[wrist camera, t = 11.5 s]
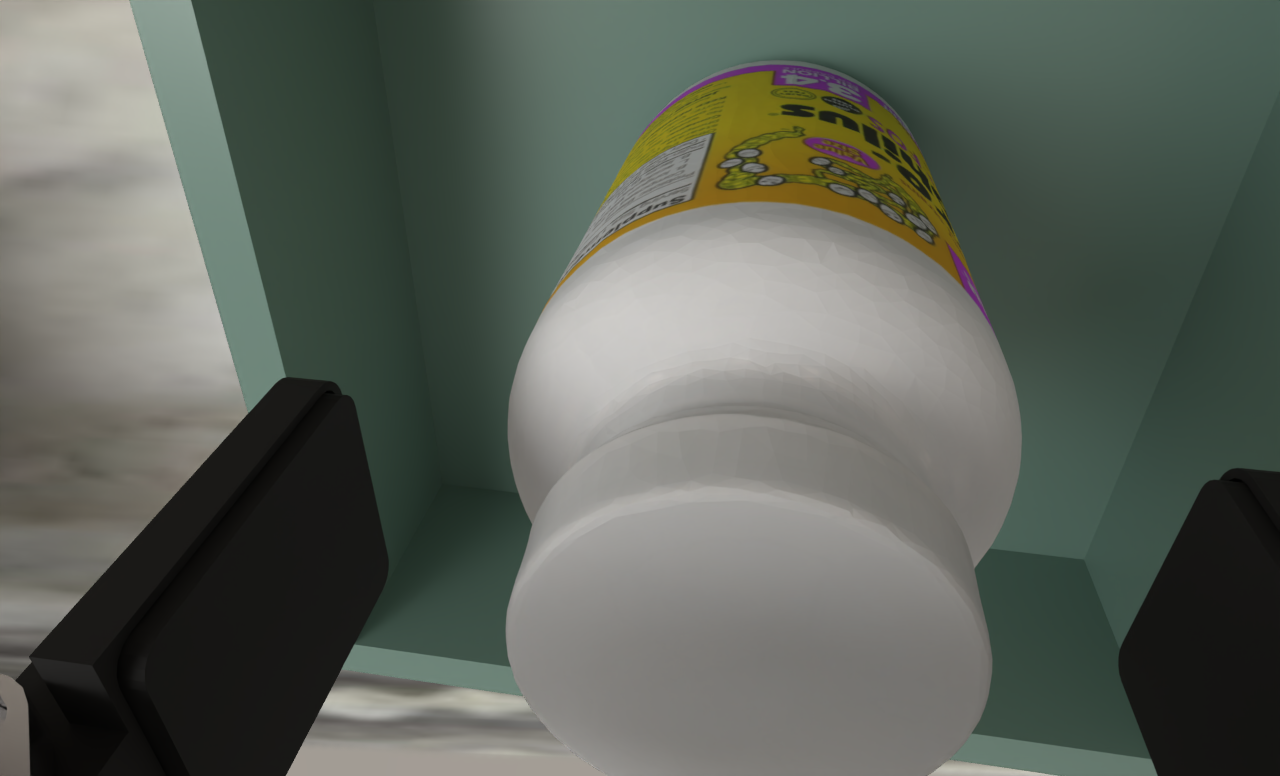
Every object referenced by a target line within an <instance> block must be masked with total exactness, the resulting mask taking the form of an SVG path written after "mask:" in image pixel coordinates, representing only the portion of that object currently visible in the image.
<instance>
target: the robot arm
mask: <svg viewBox="0 0 1280 776" xmlns="http://www.w3.org/2000/svg"><path fill="white" fill-rule="evenodd" d="M388 570H389V559H388V553H387V548H386V544H385V539H384V535H383V530H382V525H381V521H380V516H379V512H378V507H377V502H376V498H375V493H374V489H373V484H372V479H371V475H370V470H369V466H368V461H367V456H366V452H365V447H364V443H363V438H362V433H361V429H360V424H359V420H358V415H357V410H356V406H355V403H354V400H353V399H352V398H351V396H348V395H342V392H341V389H340V388H339V386H338V385H337V384H336V383H334V382H332V381H325V380H315V379H305V378H294V377H285V378H282V379H280V380H279V381H278V382H276V383H275V384H274V386H273V387H272V388H271V389H270V390H269V391H268V392H267V393H266V394H265V396H264V397H263V398H262V399H261V400H260V401H259V402H258V403H257V404H256V406H255V407H254V408H253V409H252V410H251V411H250V412H249V413H248V414H247V415H246V417H245V418H244V419H243V420H242V421H241V422H240V423H239V424H238V425H237V427H236V428H235V429H234V430H233V431H232V432H231V433H230V434H229V435H228V437H227V438H226V439H225V440H224V441H223V442H222V443H221V444H220V445H219V447H218V448H217V449H216V450H215V451H214V452H213V453H212V454H211V455H210V457H209V458H208V459H207V460H206V461H205V462H204V463H203V464H202V465H201V466H200V468H199V469H198V470H197V471H196V472H195V473H194V474H193V475H192V476H191V478H190V479H189V480H188V481H187V482H186V483H185V484H184V485H183V486H182V488H181V489H180V490H179V491H178V492H177V493H176V494H175V495H174V496H173V498H172V499H171V500H170V501H169V502H168V503H167V504H166V505H165V506H164V507H163V509H162V510H161V511H160V512H159V513H158V514H157V515H156V516H155V517H154V519H153V520H152V521H151V522H150V523H149V524H148V525H147V526H146V527H145V529H144V530H143V531H142V532H141V533H140V534H139V535H138V536H137V537H136V539H135V540H134V541H133V542H132V543H131V544H130V545H129V546H128V547H127V548H126V550H125V551H124V552H123V553H122V554H121V555H120V556H119V557H118V558H117V560H116V561H115V562H114V563H113V564H112V565H111V566H110V567H109V568H108V570H107V571H106V572H105V573H104V574H103V575H102V576H101V577H100V578H99V580H98V581H97V582H96V583H95V584H94V585H93V586H92V587H91V588H90V590H89V591H88V592H87V593H86V594H85V595H84V596H83V597H82V598H81V599H80V601H79V602H78V603H77V604H76V605H75V606H74V607H73V608H72V609H71V611H70V612H69V613H68V614H67V615H66V616H65V617H64V618H63V619H62V621H61V622H60V623H59V624H58V625H57V626H56V627H55V628H54V629H53V631H52V632H51V633H50V634H49V635H48V636H47V637H46V638H45V639H44V640H43V642H42V643H41V644H40V645H39V646H38V647H37V648H36V649H35V650H34V652H33V653H32V654H31V655H30V656H29V658H30V659H31V661H32V663H31V664H30V665H29V666H28V667H27V668H26V669H25V670H24V672H23V673H22V674H21V675H20V676H19V677H18V678H17V679H16V681H14V680H13V679H12V678H11V677H10V676H7V675H2V674H0V776H286V774H287V772H288V770H289V768H290V767H291V765H292V763H293V761H294V759H295V757H296V755H297V753H298V751H299V749H300V747H301V746H302V744H303V742H304V740H305V738H306V736H307V734H308V732H309V730H310V728H311V726H312V724H313V723H314V721H315V719H316V717H317V715H318V713H319V711H320V709H321V707H322V705H323V703H324V702H325V700H326V698H327V696H328V694H329V692H330V690H331V688H332V686H333V684H334V682H335V681H336V679H337V677H338V675H339V673H340V671H341V669H342V667H343V665H344V663H345V661H346V660H347V658H348V656H349V654H350V652H351V650H352V648H353V646H354V644H355V642H356V640H357V638H358V637H359V635H360V633H361V631H362V629H363V627H364V625H365V623H366V621H367V619H368V617H369V616H370V614H371V612H372V610H373V608H374V606H375V604H376V602H377V600H378V598H379V596H380V595H381V593H382V591H383V588H384V586H385V584H386V580H387V576H388ZM1118 667H1119V675H1120V678H1121V682H1122V684H1123V687H1124V690H1125V692H1126V695H1127V697H1128V700H1129V703H1130V705H1131V708H1132V710H1133V713H1134V716H1135V718H1136V721H1137V723H1138V726H1139V729H1140V731H1141V734H1142V736H1143V739H1144V742H1145V744H1146V747H1147V749H1148V752H1149V755H1150V757H1151V760H1152V762H1153V765H1154V768H1155V770H1156V773H1157V775H1158V776H1280V472H1276V471H1266V470H1255V469H1245V468H1234V469H1230V470H1228V471H1227V472H1225V473H1224V474H1223V475H1222V476H1221V478H1220V479H1219V480H1209V481H1208V482H1207V483H1205V484H1204V486H1203V487H1202V488H1201V490H1200V492H1199V494H1198V496H1197V498H1196V500H1195V502H1194V504H1193V506H1192V507H1191V509H1190V511H1189V513H1188V515H1187V517H1186V519H1185V521H1184V523H1183V525H1182V527H1181V529H1180V531H1179V533H1178V535H1177V537H1176V539H1175V541H1174V543H1173V545H1172V547H1171V549H1170V551H1169V553H1168V554H1167V556H1166V558H1165V560H1164V562H1163V564H1162V566H1161V568H1160V570H1159V572H1158V574H1157V576H1156V578H1155V580H1154V582H1153V584H1152V586H1151V588H1150V590H1149V592H1148V594H1147V596H1146V598H1145V599H1144V601H1143V603H1142V605H1141V607H1140V609H1139V611H1138V613H1137V615H1136V617H1135V619H1134V621H1133V623H1132V625H1131V627H1130V629H1129V631H1128V633H1127V635H1126V637H1125V639H1124V641H1123V643H1122V645H1121V648H1120V651H1119V657H1118Z"/></svg>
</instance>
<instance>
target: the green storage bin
mask: <svg viewBox="0 0 1280 776" xmlns="http://www.w3.org/2000/svg"><path fill="white" fill-rule="evenodd" d="M129 1H130V4H131V8H132V11H133V15H134V18H135V22H136V25H137V29H138V32H139V36H140V39H141V42H142V46H143V49H144V53H145V56H146V60H147V63H148V67H149V70H150V74H151V77H152V81H153V84H154V88H155V91H156V95H157V98H158V101H159V105H160V108H161V112H162V115H163V119H164V122H165V126H166V129H167V133H168V136H169V140H170V143H171V147H172V150H173V154H174V157H175V160H176V164H177V167H178V171H179V174H180V178H181V181H182V185H183V188H184V192H185V195H186V199H187V202H188V206H189V209H190V212H191V216H192V219H193V223H194V226H195V230H196V233H197V237H198V240H199V244H200V247H201V251H202V254H203V258H204V261H205V265H206V268H207V271H208V275H209V278H210V282H211V285H212V289H213V292H214V296H215V299H216V303H217V306H218V310H219V313H220V317H221V320H222V324H223V327H224V330H225V334H226V337H227V341H228V344H229V348H230V351H231V355H232V358H233V362H234V365H235V369H236V372H237V376H238V379H239V382H240V386H241V389H242V393H243V396H244V400H245V403H246V407H247V410H248V413H249V412H250V411H251V410H252V409H253V408H254V407H255V406H256V404H257V403H258V402H259V401H260V400H261V399H262V398H263V397H264V396H265V394H266V393H267V392H268V391H269V390H270V389H271V388H272V387H273V386H274V384H275V383H276V382H278V381H279V380H280V379H282V378H285V377H294V378H305V379H315V380H325V381H332V382H334V383H336V384H337V385H338V386H339V388H340V389H341V392H342V395H348V396H351V398H352V399H353V400H354V403H355V406H356V410H357V415H358V420H359V424H360V429H361V433H362V438H363V443H364V447H365V452H366V456H367V461H368V466H369V470H370V475H371V479H372V484H373V489H374V493H375V498H376V502H377V507H378V512H379V516H380V521H381V525H382V530H383V535H384V539H385V544H386V548H387V553H388V559H389V570H388V576H387V580H386V584H385V586H384V588H383V591H382V593H381V595H380V596H379V598H378V600H377V602H376V604H375V606H374V608H373V610H372V612H371V614H370V616H369V617H368V619H367V621H366V623H365V625H364V627H363V629H362V631H361V633H360V635H359V637H358V638H357V640H356V642H355V644H354V646H353V648H352V650H351V652H350V654H349V656H348V658H347V660H346V661H345V663H344V665H343V667H342V669H343V670H350V671H357V672H363V673H370V674H377V675H384V676H390V677H397V678H404V679H411V680H417V681H424V682H431V683H438V684H444V685H451V686H458V687H465V688H471V689H478V690H485V691H492V692H498V693H505V694H512V695H519V696H523V695H522V693H521V691H520V689H519V687H518V685H517V683H516V681H515V679H514V675H513V672H512V668H511V665H510V662H509V659H508V653H507V645H506V616H507V608H508V604H509V601H510V597H511V593H512V590H513V587H514V583H515V580H516V577H517V574H518V571H519V569H520V566H521V563H522V560H523V557H524V554H525V551H526V547H527V544H528V540H529V535H530V531H531V528H532V523H531V521H530V519H529V517H528V515H527V513H526V511H525V508H524V506H523V503H522V501H521V498H520V495H519V492H518V489H517V486H516V483H515V479H514V475H513V471H512V467H511V462H510V453H509V445H508V409H509V397H510V393H511V389H512V385H513V381H514V377H515V373H516V369H517V366H518V363H519V360H520V358H521V355H522V353H523V350H524V347H525V345H526V343H527V341H528V339H529V337H530V335H531V333H532V331H533V329H534V327H535V325H536V323H537V321H538V319H539V317H540V315H541V313H542V311H543V309H544V307H545V305H546V303H547V302H548V300H549V298H550V296H551V295H552V292H553V291H554V289H555V287H556V286H557V284H558V282H559V280H560V279H561V277H562V275H563V273H564V272H565V270H566V268H567V266H568V264H569V263H570V261H571V259H572V257H573V256H574V254H575V252H576V250H577V248H578V247H579V245H580V243H581V241H582V239H583V237H584V235H585V234H586V232H587V230H588V228H589V226H590V225H591V223H592V221H593V219H594V217H595V215H596V213H597V212H598V210H599V208H600V206H601V204H602V203H603V201H604V199H605V197H606V195H607V193H608V191H609V189H610V188H611V186H612V184H613V182H614V181H615V179H616V177H617V175H618V173H619V171H620V169H621V167H622V166H623V164H624V162H625V160H626V158H627V157H628V155H629V153H630V152H631V150H632V148H633V147H634V145H635V143H636V142H637V140H638V138H639V137H640V135H641V134H642V133H643V131H644V130H645V129H646V127H647V126H648V125H649V123H650V122H651V121H652V120H653V119H654V118H655V117H656V116H657V114H658V113H659V112H660V111H661V110H662V109H663V108H664V107H665V106H666V105H667V104H668V103H669V102H670V101H671V100H672V99H674V98H675V97H676V96H678V95H679V94H680V93H682V92H683V91H684V90H686V89H687V88H688V87H690V86H691V85H693V84H695V83H697V82H698V81H700V80H702V79H704V78H705V77H708V76H710V75H712V74H714V73H716V72H719V71H721V70H724V69H727V68H730V67H734V66H737V65H740V64H746V63H751V62H758V61H770V60H787V61H801V62H807V63H812V64H816V65H820V66H824V67H827V68H830V69H833V70H836V71H839V72H841V73H844V74H846V75H848V76H850V77H852V78H854V79H856V80H857V81H859V82H861V83H862V84H864V85H865V86H867V87H868V88H870V89H871V90H873V91H874V92H875V93H877V94H878V95H879V96H880V97H881V98H883V99H884V100H885V101H886V102H887V103H888V104H889V105H890V106H891V107H892V108H893V109H894V110H895V111H896V112H897V114H898V115H899V116H900V117H901V119H902V120H903V121H904V122H905V124H906V125H907V127H908V128H909V130H910V132H911V133H912V135H913V137H914V139H915V141H916V142H917V144H918V146H919V148H920V150H921V152H922V154H923V157H924V159H925V161H926V163H927V166H928V168H929V171H930V173H931V175H932V178H933V180H934V183H935V185H936V188H937V190H938V193H939V195H940V198H941V199H942V202H943V205H944V207H945V210H946V213H947V215H948V218H949V221H950V223H951V226H952V228H953V230H954V232H955V234H956V237H957V239H958V241H959V244H960V247H961V251H962V253H963V255H964V257H965V260H966V263H967V265H968V268H969V271H970V274H971V276H972V279H973V281H974V284H975V286H976V289H977V291H978V294H979V297H980V299H981V302H982V304H983V307H984V309H985V311H986V314H987V316H988V318H989V321H990V323H991V326H992V328H993V331H994V333H995V335H996V338H997V340H998V343H999V345H1000V348H1001V350H1002V353H1003V355H1004V358H1005V360H1006V363H1007V366H1008V368H1009V371H1010V374H1011V377H1012V379H1013V382H1014V385H1015V390H1016V395H1017V399H1018V404H1019V411H1020V417H1021V431H1022V446H1021V463H1020V470H1019V476H1018V481H1017V484H1016V488H1015V491H1014V495H1013V499H1012V502H1011V506H1010V508H1009V511H1008V513H1007V515H1006V518H1005V520H1004V523H1003V525H1002V527H1001V529H1000V531H999V533H998V535H997V536H996V538H995V540H994V542H993V544H992V545H991V547H990V548H989V549H988V551H987V552H986V554H985V555H984V556H983V558H982V559H981V560H980V562H979V563H978V564H977V566H976V567H975V569H974V570H975V575H976V580H977V585H978V590H979V595H980V600H981V604H982V608H983V612H984V616H985V620H986V624H987V628H988V632H989V639H990V645H991V652H992V659H993V661H992V677H991V683H990V690H989V695H988V699H987V702H986V706H985V709H984V711H983V714H982V716H981V719H980V721H979V722H978V724H977V725H976V727H975V728H974V730H973V732H972V733H971V735H970V736H969V738H968V739H967V741H966V742H965V743H964V745H963V746H962V747H961V748H960V749H959V750H958V751H957V752H956V753H955V754H954V755H953V757H951V758H950V760H957V761H964V762H971V763H977V764H984V765H991V766H998V767H1004V768H1011V769H1018V770H1024V771H1031V772H1038V773H1045V774H1051V775H1058V776H1158V775H1157V773H1156V770H1155V768H1154V765H1153V762H1152V760H1151V757H1150V755H1149V752H1148V749H1147V747H1146V744H1145V742H1144V739H1143V736H1142V734H1141V731H1140V729H1139V726H1138V723H1137V721H1136V718H1135V716H1134V713H1133V710H1132V708H1131V705H1130V703H1129V700H1128V697H1127V695H1126V692H1125V690H1124V687H1123V684H1122V682H1121V678H1120V675H1119V667H1118V657H1119V651H1120V648H1121V645H1122V643H1123V641H1124V639H1125V637H1126V635H1127V633H1128V631H1129V629H1130V627H1131V625H1132V623H1133V621H1134V619H1135V617H1136V615H1137V613H1138V611H1139V609H1140V607H1141V605H1142V603H1143V601H1144V599H1145V598H1146V596H1147V594H1148V592H1149V590H1150V588H1151V586H1152V584H1153V582H1154V580H1155V578H1156V576H1157V574H1158V572H1159V570H1160V568H1161V566H1162V564H1163V562H1164V560H1165V558H1166V556H1167V554H1168V553H1169V551H1170V549H1171V547H1172V545H1173V543H1174V541H1175V539H1176V537H1177V535H1178V533H1179V531H1180V529H1181V527H1182V525H1183V523H1184V521H1185V519H1186V517H1187V515H1188V513H1189V511H1190V509H1191V507H1192V506H1193V504H1194V502H1195V500H1196V498H1197V496H1198V494H1199V492H1200V490H1201V488H1202V487H1203V486H1204V484H1205V483H1207V482H1208V481H1209V480H1219V479H1220V478H1221V476H1222V475H1223V474H1224V473H1225V472H1227V471H1228V470H1230V469H1234V468H1245V469H1255V470H1266V471H1276V472H1280V0H129Z"/></svg>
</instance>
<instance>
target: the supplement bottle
mask: <svg viewBox="0 0 1280 776" xmlns="http://www.w3.org/2000/svg"><path fill="white" fill-rule="evenodd" d="M508 445H509V453H510V462H511V467H512V471H513V475H514V479H515V483H516V486H517V489H518V492H519V495H520V498H521V501H522V503H523V506H524V508H525V511H526V513H527V515H528V517H529V519H530V521H531V523H532V528H531V531H530V535H529V540H528V544H527V547H526V551H525V554H524V557H523V560H522V563H521V566H520V569H519V571H518V574H517V577H516V580H515V583H514V587H513V590H512V593H511V597H510V601H509V604H508V608H507V616H506V645H507V653H508V659H509V662H510V665H511V668H512V672H513V675H514V679H515V681H516V683H517V685H518V687H519V689H520V691H521V693H522V695H523V696H524V698H525V700H526V701H527V703H528V705H529V706H530V708H531V709H532V711H533V712H534V713H535V715H536V716H537V717H538V719H539V720H540V721H541V722H542V723H543V724H544V725H545V727H546V728H547V729H548V730H549V731H550V732H551V733H552V734H553V736H554V737H555V738H556V739H558V740H559V741H560V742H561V743H562V744H563V745H565V746H566V747H567V748H568V749H569V750H570V751H572V752H573V753H574V754H575V755H576V756H577V757H579V758H580V759H582V760H583V761H585V762H586V763H588V764H589V765H591V766H592V767H594V768H596V769H597V770H599V771H601V772H602V773H604V774H606V775H607V776H928V775H929V774H931V773H932V772H934V771H935V770H936V769H937V768H939V767H940V766H941V765H942V764H944V763H945V762H946V761H948V760H949V759H950V758H951V757H953V755H954V754H955V753H956V752H957V751H958V750H959V749H960V748H961V747H962V746H963V745H964V743H965V742H966V741H967V739H968V738H969V736H970V735H971V733H972V732H973V730H974V728H975V727H976V725H977V724H978V722H979V721H980V719H981V716H982V714H983V711H984V709H985V706H986V702H987V699H988V695H989V690H990V683H991V677H992V661H993V659H992V652H991V645H990V639H989V632H988V628H987V624H986V620H985V616H984V612H983V608H982V604H981V600H980V595H979V590H978V585H977V580H976V575H975V570H974V569H975V567H976V566H977V564H978V563H979V562H980V560H981V559H982V558H983V556H984V555H985V554H986V552H987V551H988V549H989V548H990V547H991V545H992V544H993V542H994V540H995V538H996V536H997V535H998V533H999V531H1000V529H1001V527H1002V525H1003V523H1004V520H1005V518H1006V515H1007V513H1008V511H1009V508H1010V506H1011V502H1012V499H1013V495H1014V491H1015V488H1016V484H1017V481H1018V476H1019V470H1020V463H1021V446H1022V431H1021V417H1020V411H1019V404H1018V399H1017V395H1016V390H1015V385H1014V382H1013V379H1012V377H1011V374H1010V371H1009V368H1008V366H1007V363H1006V360H1005V358H1004V355H1003V353H1002V350H1001V348H1000V345H999V343H998V340H997V338H996V335H995V333H994V331H993V328H992V326H991V323H990V321H989V318H988V316H987V314H986V311H985V309H984V307H983V304H982V302H981V299H980V297H979V294H978V291H977V289H976V286H975V284H974V281H973V279H972V276H971V274H970V271H969V268H968V265H967V263H966V260H965V257H964V255H963V253H962V251H961V247H960V244H959V241H958V239H957V237H956V234H955V232H954V230H953V228H952V226H951V223H950V221H949V218H948V215H947V213H946V210H945V207H944V205H943V202H942V199H941V198H940V195H939V193H938V190H937V188H936V185H935V183H934V180H933V178H932V175H931V173H930V171H929V168H928V166H927V163H926V161H925V159H924V157H923V154H922V152H921V150H920V148H919V146H918V144H917V142H916V141H915V139H914V137H913V135H912V133H911V132H910V130H909V128H908V127H907V125H906V124H905V122H904V121H903V120H902V119H901V117H900V116H899V115H898V114H897V112H896V111H895V110H894V109H893V108H892V107H891V106H890V105H889V104H888V103H887V102H886V101H885V100H884V99H883V98H881V97H880V96H879V95H878V94H877V93H875V92H874V91H873V90H871V89H870V88H868V87H867V86H865V85H864V84H862V83H861V82H859V81H857V80H856V79H854V78H852V77H850V76H848V75H846V74H844V73H841V72H839V71H836V70H833V69H830V68H827V67H824V66H820V65H816V64H812V63H807V62H801V61H787V60H770V61H758V62H751V63H746V64H740V65H737V66H734V67H730V68H727V69H724V70H721V71H719V72H716V73H714V74H712V75H710V76H708V77H705V78H704V79H702V80H700V81H698V82H697V83H695V84H693V85H691V86H690V87H688V88H687V89H686V90H684V91H683V92H682V93H680V94H679V95H678V96H676V97H675V98H674V99H672V100H671V101H670V102H669V103H668V104H667V105H666V106H665V107H664V108H663V109H662V110H661V111H660V112H659V113H658V114H657V116H656V117H655V118H654V119H653V120H652V121H651V122H650V123H649V125H648V126H647V127H646V129H645V130H644V131H643V133H642V134H641V135H640V137H639V138H638V140H637V142H636V143H635V145H634V147H633V148H632V150H631V152H630V153H629V155H628V157H627V158H626V160H625V162H624V164H623V166H622V167H621V169H620V171H619V173H618V175H617V177H616V179H615V181H614V182H613V184H612V186H611V188H610V189H609V191H608V193H607V195H606V197H605V199H604V201H603V203H602V204H601V206H600V208H599V210H598V212H597V213H596V215H595V217H594V219H593V221H592V223H591V225H590V226H589V228H588V230H587V232H586V234H585V235H584V237H583V239H582V241H581V243H580V245H579V247H578V248H577V250H576V252H575V254H574V256H573V257H572V259H571V261H570V263H569V264H568V266H567V268H566V270H565V272H564V273H563V275H562V277H561V279H560V280H559V282H558V284H557V286H556V287H555V289H554V291H553V292H552V295H551V296H550V298H549V300H548V302H547V303H546V305H545V307H544V309H543V311H542V313H541V315H540V317H539V319H538V321H537V323H536V325H535V327H534V329H533V331H532V333H531V335H530V337H529V339H528V341H527V343H526V345H525V347H524V350H523V353H522V355H521V358H520V360H519V363H518V366H517V369H516V373H515V377H514V381H513V385H512V389H511V393H510V397H509V409H508Z"/></svg>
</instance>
